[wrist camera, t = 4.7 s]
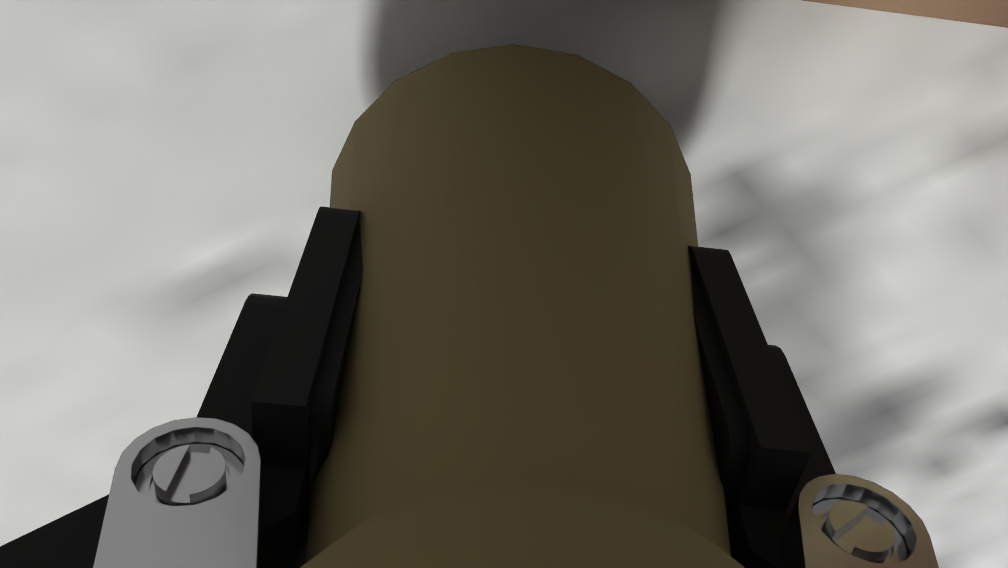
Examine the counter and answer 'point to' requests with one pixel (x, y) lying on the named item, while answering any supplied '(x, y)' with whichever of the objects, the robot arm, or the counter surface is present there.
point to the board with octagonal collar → (938, 9)
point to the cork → (519, 330)
